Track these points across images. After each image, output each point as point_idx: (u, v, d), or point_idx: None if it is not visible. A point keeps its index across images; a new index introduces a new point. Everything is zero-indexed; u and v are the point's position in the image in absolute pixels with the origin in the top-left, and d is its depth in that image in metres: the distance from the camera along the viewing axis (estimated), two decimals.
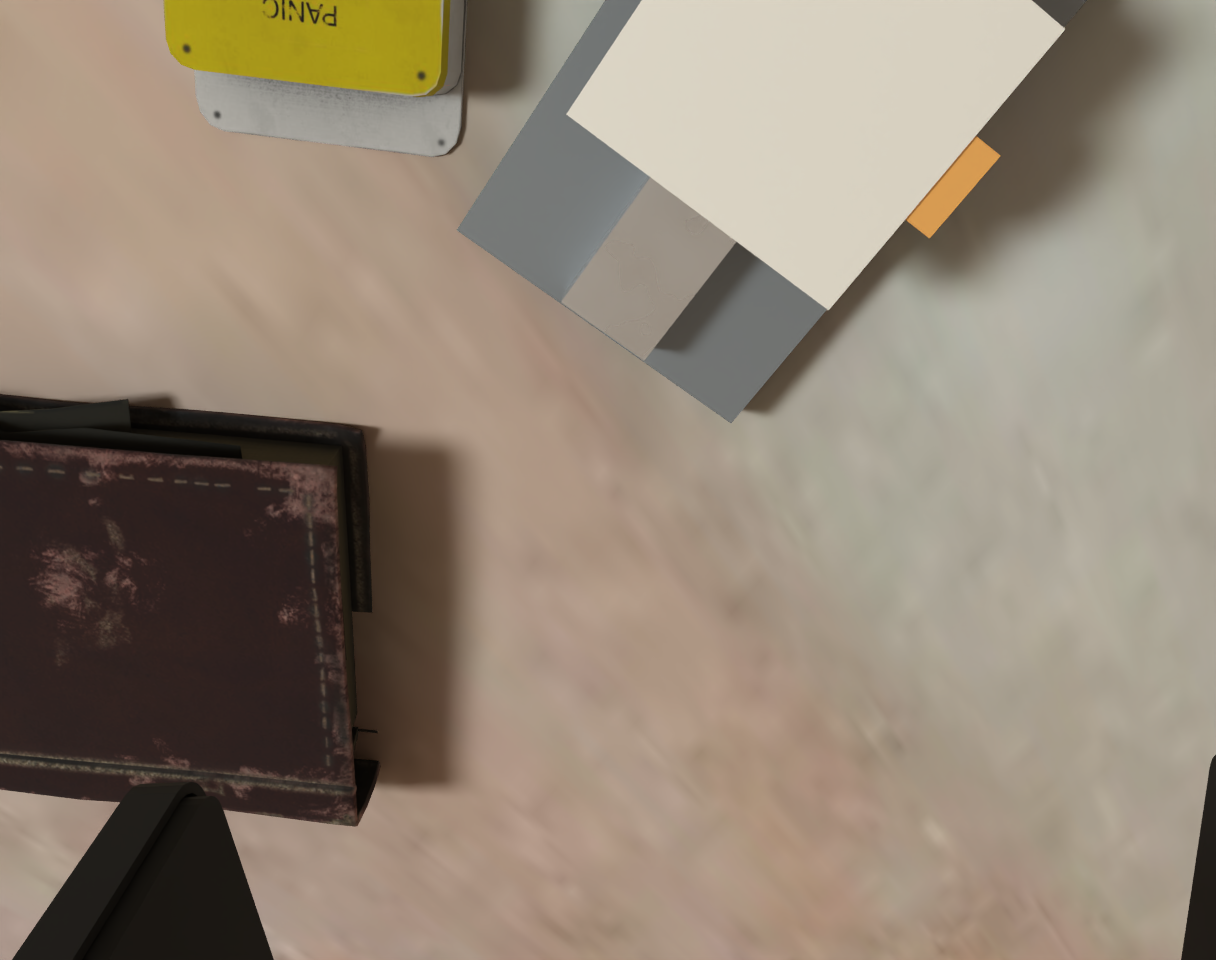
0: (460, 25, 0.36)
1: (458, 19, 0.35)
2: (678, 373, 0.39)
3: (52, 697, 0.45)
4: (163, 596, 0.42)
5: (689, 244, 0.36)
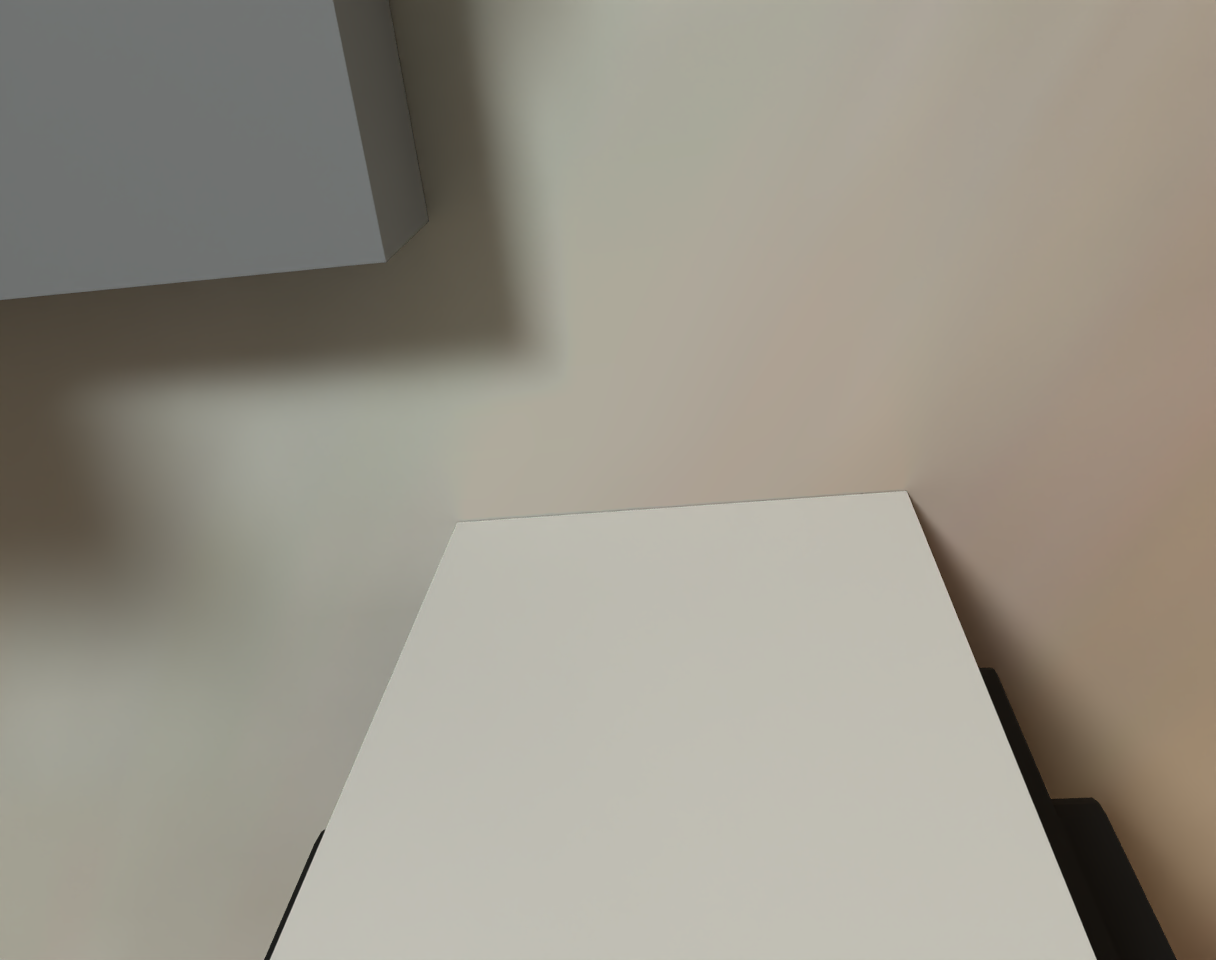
0: None
1: None
2: None
3: None
4: None
5: None
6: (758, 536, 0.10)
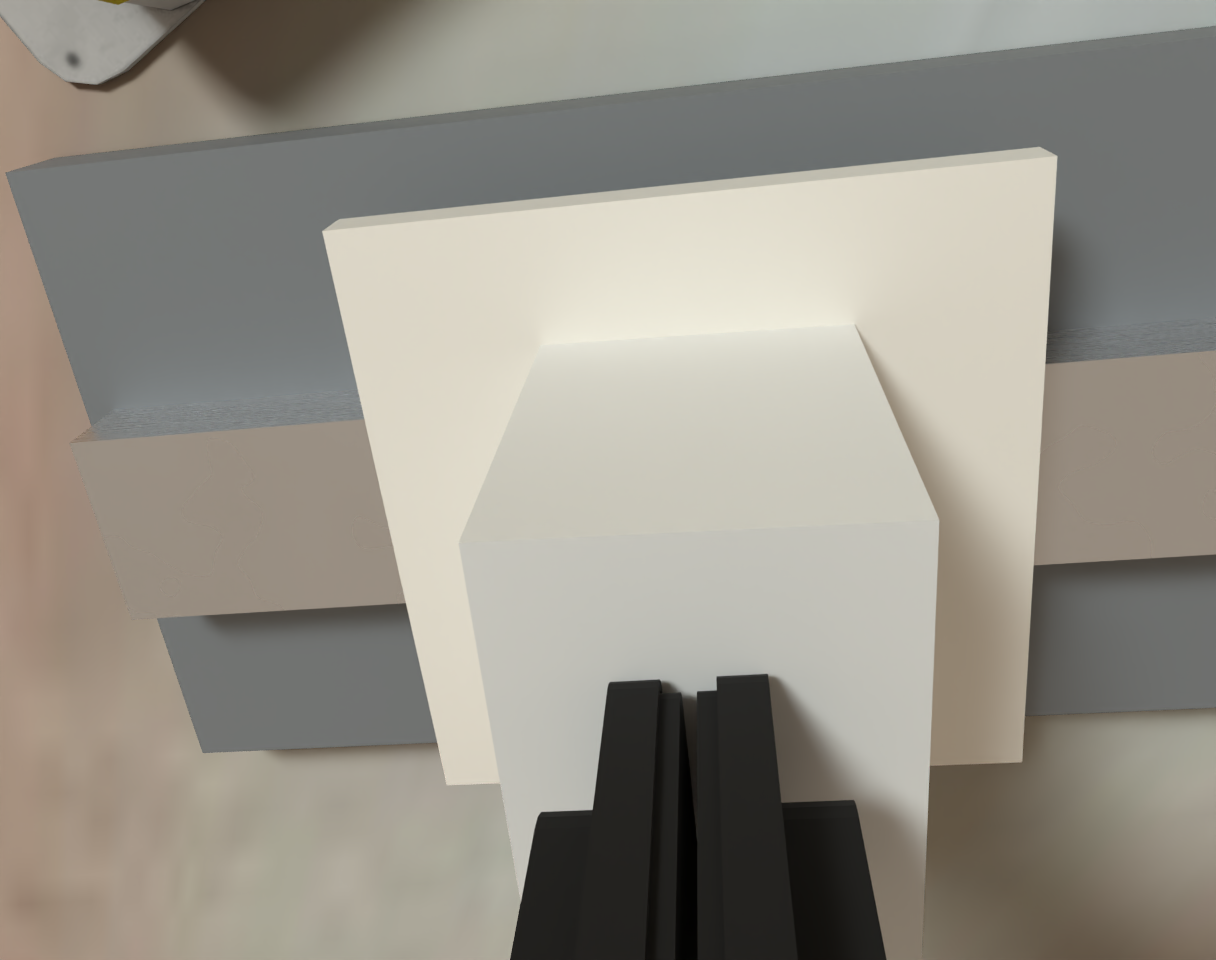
0: None
1: None
2: (184, 643, 0.22)
3: None
4: None
5: (336, 548, 0.19)
6: (752, 347, 0.15)
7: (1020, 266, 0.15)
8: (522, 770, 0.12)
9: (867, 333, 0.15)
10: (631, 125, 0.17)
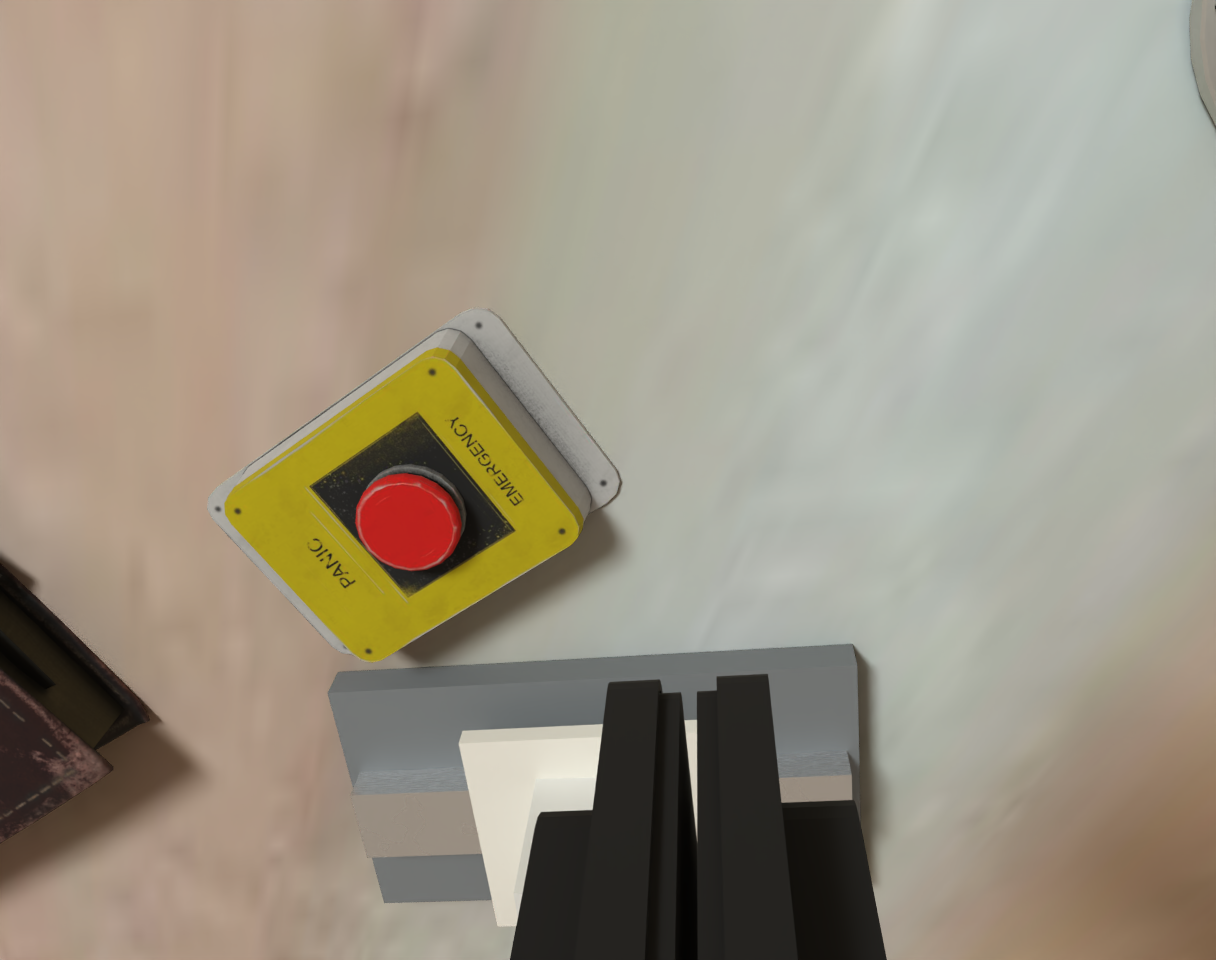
0: None
1: None
2: (380, 858, 0.50)
3: None
4: None
5: (454, 833, 0.47)
6: None
7: None
8: None
9: None
10: (570, 687, 0.45)
